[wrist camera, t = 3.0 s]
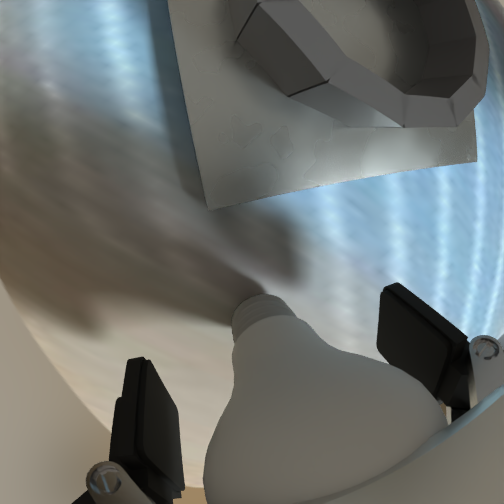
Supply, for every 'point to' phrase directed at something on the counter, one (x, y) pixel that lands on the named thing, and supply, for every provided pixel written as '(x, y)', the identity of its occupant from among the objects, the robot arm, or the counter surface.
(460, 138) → the plate
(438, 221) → the counter surface
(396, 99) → the socket
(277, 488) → the lightbulb
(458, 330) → the robot arm
